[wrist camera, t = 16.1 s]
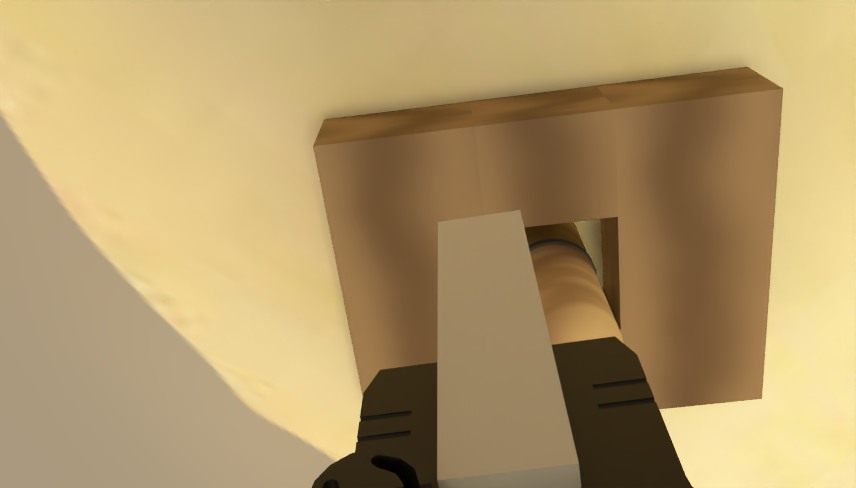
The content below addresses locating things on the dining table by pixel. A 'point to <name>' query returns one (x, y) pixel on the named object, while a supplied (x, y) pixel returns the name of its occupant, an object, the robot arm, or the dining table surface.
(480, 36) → the dining table surface
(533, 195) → the board
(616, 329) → the dowel
